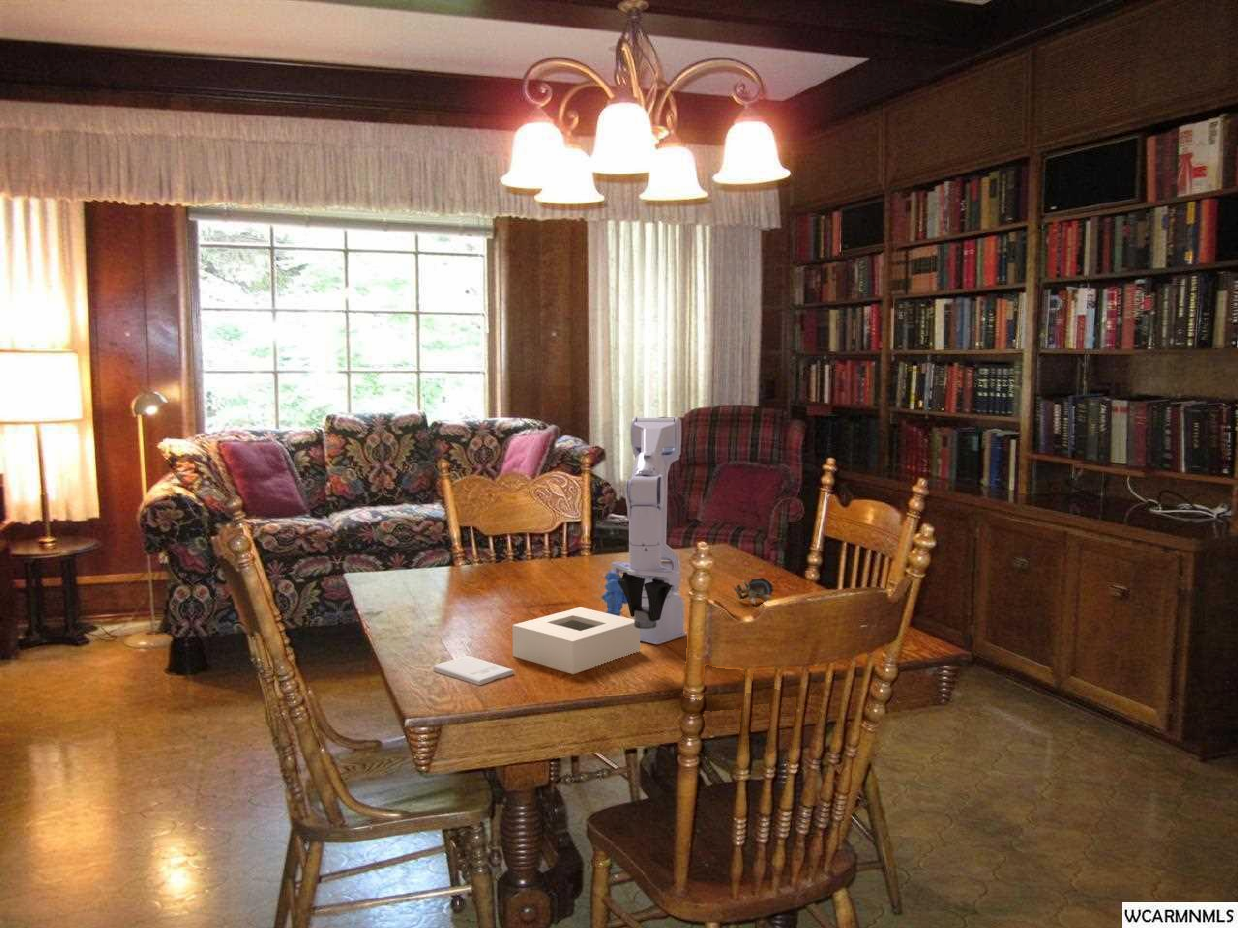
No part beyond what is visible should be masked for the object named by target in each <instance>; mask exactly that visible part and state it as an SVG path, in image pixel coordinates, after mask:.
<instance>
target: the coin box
mask: <svg viewBox="0 0 1238 928" xmlns="http://www.w3.org/2000/svg"><path fill="white" fill-rule="evenodd" d="M511 626H512V628H511V629H512V656H513V657H515V658H517V659H522V660H525V661H527V662H531V663H535V664H537V665H541V666H544V667H548V668H551V669H553V670H558V671H561V672H564V673H567V674H571V675H574V674H578V673H580V672H584V671H586V670H589V669H593V668H596V667H599V666H601V664H602V665H605V664H607V662H608V663H610V661H611V662H613V660H614V661H616V660H615V659H617V660H619V659H618V658H620V659H621V657H623V658H625V656H626V657H629V656H631V655H630V654H632V655H634V654H633V653H635V654H637V653H636V652H638V653H640V652H641V641H640V628H636V627H634V618H630V617H626V616H617V615H613V614H609V613H605V612H604V611H600V610H594V609H590V608H587V607H582V606H579V607H574V608H571V609H567V610H564V611H560V612H556V613H552V614H549V615H545V616H544V615H543V616H541V617H538V618H534V619H529V620H526V621H522V622H519V623H514V624H512V625H511ZM639 651H640V652H639ZM628 655H629V656H628ZM604 663H605V664H604ZM598 665H599V666H598ZM595 666H596V667H595Z"/></svg>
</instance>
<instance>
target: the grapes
mask: <svg viewBox="0 0 1238 928" xmlns="http://www.w3.org/2000/svg"><path fill="white" fill-rule="evenodd" d="M604 578H605V580H606V582H607V583H606V584H605V585H604V588H605V590H606V591H605V592H604V593H603V594H602V596H601V599H602V601H604V602H605V603H606V608H607V610H606V611H605V612H604V613H609V614H613V615H617V616H620V615H622V612H621V609H622V608H623V605H628V603H627V600H626V597H625V595H624V592H623V590H622V589H621V587H620V585H619V584H618V579H619V578H622V576H621V574H620V573H617V574H614V573H612V569H611V570H609V571H608V572H607V573H606V575H605V576H604Z"/></svg>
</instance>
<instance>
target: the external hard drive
mask: <svg viewBox="0 0 1238 928" xmlns="http://www.w3.org/2000/svg"><path fill="white" fill-rule="evenodd" d="M433 671H434V672H437V673H438V674H439V673H440V674H443V675H445V676H448V677H451V678H455V679H458V680H461V681H464V682H467V683H471V684H474V685H477V686H482V685H485V684H487V683H491V682H494V681H497V680H498V679H499V680H501V679H503V678H506V677H508V676H509V677H510V676H512V675H514V674H515V669H512V668H510V667H509V668H508V667H505V666H502V665H500V664H496V663H493V662H490V661H487V660H483V659H480V658H476V657H474V656H469V655H464V656H461V657H456V658H455V659H451V660H447V661H444V662H441V663H438V664H435V665H434V666H433Z"/></svg>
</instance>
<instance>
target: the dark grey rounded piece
mask: <svg viewBox="0 0 1238 928" xmlns="http://www.w3.org/2000/svg"><path fill="white" fill-rule="evenodd" d="M633 619H634V627H636V628H640V629H651V628H655V627H656V626H657V621H650V618H649V607H637V608H635V609H634V617H633Z"/></svg>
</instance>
